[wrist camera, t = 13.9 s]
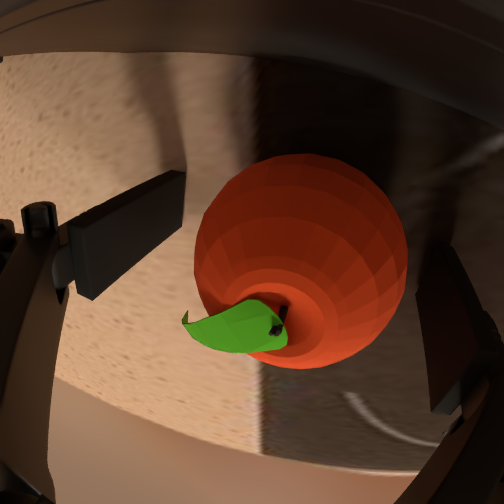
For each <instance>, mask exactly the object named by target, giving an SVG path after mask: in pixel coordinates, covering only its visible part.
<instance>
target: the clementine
mask: <svg viewBox="0 0 504 504" xmlns="http://www.w3.org/2000/svg"><path fill="white" fill-rule="evenodd" d="M407 264H408V247H407V243H406V238H405V233H404V229H403V225H402V222H401V220H400V218H399V216H398V215H397V213H396V211H395V209H394V207H393V206H392V204H391V202H390V200H389V199H388V197H387V196H386V195H385V194H384V192H383V191H382V190H381V189H380V188H379V187H378V186H377V185H376V184H375V183H374V182H373V181H372V180H370V179H369V178H368V177H367V176H366V175H365V174H364V173H363V172H361V171H359V170H358V169H356V168H354V167H352V166H350V165H348V164H346V163H344V162H343V161H341V160H339V159H335V158H331V157H326V156H322V155H317V154H312V153H306V154H288V155H280V156H275V157H273V158H270V159H267V160H264V161H261V162H259V163H256V164H253V165H250V166H249V167H247V168H246V169H244V170H243V171H242V172H240V173H239V174H238V175H236V176H235V177H234V178H232V179H231V180H230V181H228V182H227V184H226V185H225V186H224V187H223V189H222V190H221V191H220V192H219V194H218V195H217V196H216V198H215V199H214V201H213V202H212V203H211V205H210V206H209V208H208V209H207V210H206V212H205V213H204V216H203V219H202V222H201V225H200V228H199V231H198V234H197V238H196V245H195V254H194V276H195V279H196V283H197V287H198V291H199V295H200V298H201V300H202V302H203V305H204V307H205V309H206V311H207V313H208V315H209V317H206V318H204V319H202V320H200V321H197V322H194V323H188V310H187V312H186V313H185V315H184V317H183V318H182V324H183V325H184V327H185V328H186V330H187V331H188V332H189V334H190V335H191V336H192V338H194V339H195V340H197V341H198V342H200V343H201V344H203V345H206V346H208V347H210V348H212V349H215V350H220V351H225V352H230V353H246V354H248V355H250V356H252V357H254V358H256V359H258V360H260V361H262V362H265V363H269V364H272V365H275V366H279V367H285V368H295V369H308V368H318V367H323V366H326V365H329V364H332V363H335V362H338V361H341V360H343V359H345V358H347V357H350V356H352V355H353V354H355V353H357V352H358V351H360V350H361V349H363V348H364V347H366V346H367V345H369V344H370V343H372V342H373V340H374V339H375V338H376V337H377V336H378V335H379V334H380V332H381V331H382V330H383V329H384V328H385V327H386V325H387V324H388V322H389V321H390V319H391V318H392V316H393V315H394V313H395V311H396V309H397V307H398V305H399V302H400V300H401V298H402V295H403V293H404V291H405V284H406V275H407Z"/></svg>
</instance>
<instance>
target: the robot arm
mask: <svg viewBox="0 0 504 504" xmlns="http://www.w3.org/2000/svg"><path fill="white" fill-rule="evenodd" d="M185 174H186V173H185V172H180V171H176V170H169V171H167V172H165V173H163V174H161V175H158V176H156V177H154V178H152V179H150V180H148V181H146V182H144V183H142V184H139V185H137V186H135V187H133V188H131V189H129V190H127V191H125V192H123V193H121V194H119V195H117V196H115V197H113V198H111V199H109V200H107V201H105V202H104V203H102V204H100V205H97V206H95V207H93V208H91V209H89V210H87V212H83V213H82V214H80V215H79V216H76V217H74V218H72V219H71V220H69V221H67V222H65V223H64V224H62V225H60V226H58V221H57V213H56V205H55V204H54V203H52V202H48V201H41V202H35V203H32V204H29V205H27V206H25V207H24V208H22V209H21V215H22V222H23V227H24V234H20V233H15V228H14V223H13V221H12V220H8V219H0V504H56V501H55V489H54V484H53V480H52V477H51V475H50V472H49V469H48V464H47V451H48V430H49V416H50V405H51V395H52V386H53V379H54V372H55V365H56V359H57V353H58V347H59V341H60V336H61V330H62V325H63V320H64V316H65V311H66V307H67V302H68V298H69V287H68V284H69V283H71V282H72V281H73V280H75V284H76V289H77V293H78V294H80V295H82V296H84V297H86V298H88V299H90V300H92V301H93V300H94V299H95V298H96V297H98V296H99V295H100V294H101V293H102V292H103V291H105V290H106V289H107V288H108V287H109V286H110V285H111V284H113V283H114V282H115V281H116V280H117V279H118V278H120V277H121V276H122V275H123V274H124V273H126V272H127V271H128V270H129V269H130V268H131V267H133V266H134V265H135V264H136V263H137V262H139V261H140V260H141V259H142V258H144V257H145V256H146V255H147V254H148V253H150V252H151V251H152V250H153V249H154V248H156V247H157V246H158V245H159V244H161V243H162V242H163V241H164V240H166V239H167V238H168V237H169V236H171V235H172V234H173V233H174V232H176V231H177V230H178V229H179V228H181V227H182V216H183V201H184V187H185ZM415 296H416V301H417V307H418V312H419V318H420V324H421V330H422V336H423V343H424V350H425V357H426V366H427V374H428V384H429V395H430V407H431V412H434V413H439V414H446V415H451V414H452V412H453V411H454V410H455V409H456V408H457V407H458V406H459V405H460V404H461V408H462V414H461V415H460V416H459V417H458V418H457V419H456V420H455V421H454V422H453V423H452V424H451V425H450V426H449V427H448V428H447V429H446V430H445V431H444V432H443V433H442V434H443V435H446V436H445V437H444V439H443V440H442V442H441V443H440V445H439V446H438V448H437V449H436V451H435V452H434V453H433V455H432V456H431V458H430V459H429V460H428V462H427V463H426V464H425V466H424V467H423V468H422V470H421V471H420V472H419V474H418V475H417V476H416V478H415V479H414V480H413V481H412V483H411V484H410V485H409V486H408V487H407V489H406V490H405V491H404V492H403V493H402V495H401V496H400V497H399V498H398V499H397V500H396V502H395V503H394V504H504V344H503V342H502V341H501V337H500V334H499V333H498V329H497V327H496V324H495V322H494V320H493V319H492V318H491V317H490V315H489V314H488V313H487V312H486V311H483V308H482V306H481V304H480V301H479V299H478V297H477V295H476V292H475V290H474V288H473V286H472V284H471V282H470V280H469V277H468V275H467V273H466V271H465V269H464V267H463V265H462V263H461V261H460V259H459V257H458V255H457V253H456V252H455V250H454V248H453V247H451V246H448V245H446V244H443V243H440V242H438V244H437V247H436V249H435V252H434V254H433V256H432V259H431V261H430V263H429V266H428V268H427V270H426V272H425V275H424V277H423V279H422V281H421V283H420V285H419V288H418V290H417V292H416V294H415Z"/></svg>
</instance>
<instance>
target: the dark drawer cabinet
mask: <svg viewBox="0 0 504 504" xmlns="http://www.w3.org/2000/svg"><path fill="white" fill-rule="evenodd" d="M47 52H121V53H137V52H195V53H215V54H228V55H240V56H249V57H258V58H266V59H273V60H280V61H287V62H293V63H299V64H304V65H310V66H315V67H320V68H325V69H329V70H334V71H339V72H343V73H347V74H351V75H355V76H359V77H363V78H367V79H370V80H374V81H378V82H381V83H384V84H388V85H391V86H394V87H398V88H401V89H404V90H407V91H410V92H413V93H416V94H419V95H422V96H424V97H427V98H430V99H433V100H435V101H438V102H441V103H443V104H446V105H448V106H451V107H453V108H456V109H458V110H460V111H463V112H465V113H467V114H470V115H472V116H474V117H477V118H479V119H481V120H483V121H485V122H487V123H489V124H492V125H494V126H496V127H498V128H500V129H502V130H504V0H0V57H3V56H11V55H21V54H32V53H47Z"/></svg>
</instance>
